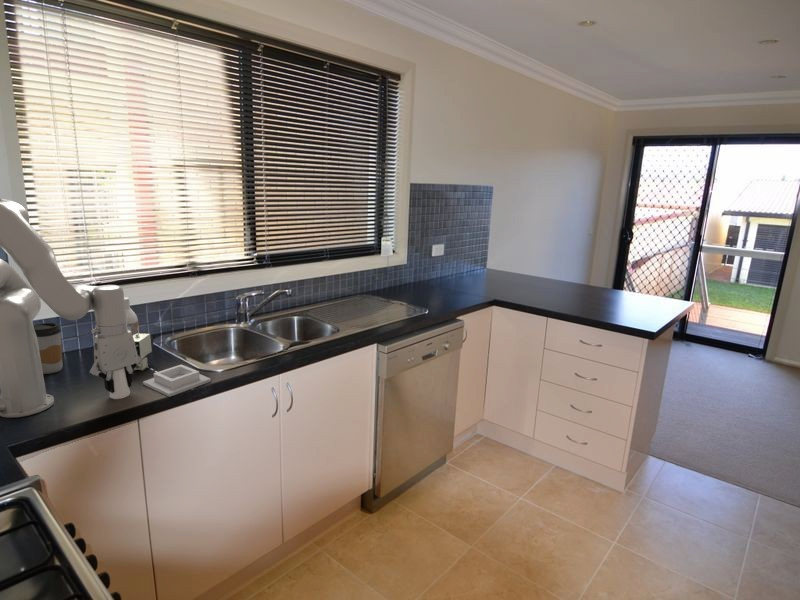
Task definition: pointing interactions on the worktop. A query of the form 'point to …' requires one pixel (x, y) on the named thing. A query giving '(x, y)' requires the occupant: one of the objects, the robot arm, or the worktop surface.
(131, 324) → the bath foam
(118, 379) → the salt shaker
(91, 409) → the worktop surface
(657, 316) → the worktop surface
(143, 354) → the pneumatic valve
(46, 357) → the coffee cup
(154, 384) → the flange
